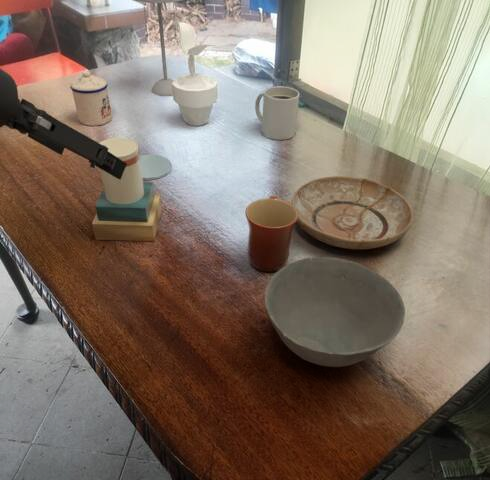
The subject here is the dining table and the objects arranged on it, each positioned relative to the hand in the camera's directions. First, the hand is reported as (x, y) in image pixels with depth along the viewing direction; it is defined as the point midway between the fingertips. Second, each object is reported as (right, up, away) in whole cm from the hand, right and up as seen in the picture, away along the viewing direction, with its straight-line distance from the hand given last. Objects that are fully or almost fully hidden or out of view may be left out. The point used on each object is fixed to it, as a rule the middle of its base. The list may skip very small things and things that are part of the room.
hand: (91, 158), depth 74 cm
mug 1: (+33, +24, +46) cm, 61 cm away
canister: (+3, -3, +10) cm, 11 cm away
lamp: (+1, +44, +63) cm, 77 cm away
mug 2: (+29, -15, +9) cm, 34 cm away
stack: (+3, -7, +15) cm, 17 cm away
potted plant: (+12, +28, +48) cm, 57 cm away
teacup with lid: (-15, +29, +48) cm, 58 cm away
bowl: (+37, -31, -6) cm, 48 cm away
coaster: (+3, +9, +30) cm, 31 cm away
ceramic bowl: (+45, -8, +17) cm, 49 cm away
